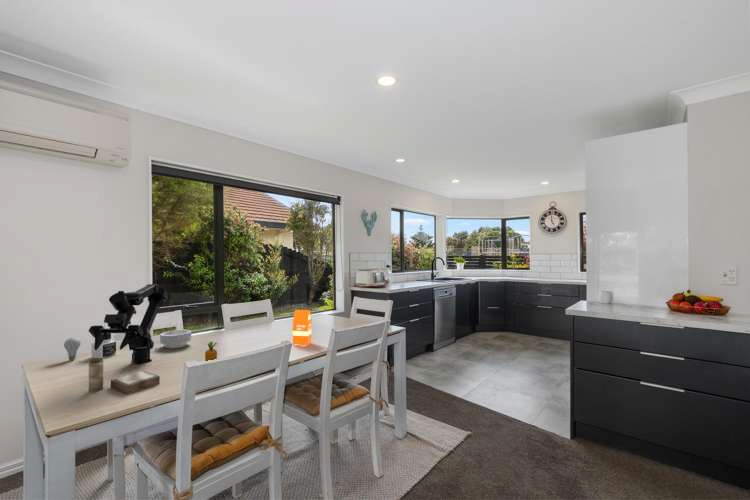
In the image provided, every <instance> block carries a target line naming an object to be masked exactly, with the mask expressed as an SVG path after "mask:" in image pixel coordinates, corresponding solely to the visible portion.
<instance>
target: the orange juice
mask: <svg viewBox="0 0 750 500" xmlns="http://www.w3.org/2000/svg"><path fill="white" fill-rule="evenodd" d="M310 342H311V343H312V316H311V311H310V310H309V309H308V310H307V309H294V315H293V319H292V346H293V345H294V344H300V345H308V344H309V343H310Z"/></svg>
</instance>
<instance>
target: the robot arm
mask: <svg viewBox="0 0 750 500" xmlns="http://www.w3.org/2000/svg"><path fill="white" fill-rule="evenodd" d="M145 298H147V302H148V303H149V304H148V306H147V309H146V311H145V313H144V315H143V317H142V320H141V322H140V324H131V323H132V322H131V319H132V318H133V316H134V315H136V314H137V310H136V308H135V306H140V305H141V304H143V303H144V302H145V300H144V299H145ZM168 298H169V293H168V291H167V290H166V289H164V288H163V287H160V286H159V284H157V283H149V284H146V285H145V286H144V287H143V286H142V288H140V289H137V290H136V291H130V292H125V291H124V290H118V291H117V292H115V293H114V294H112V295H110V296H109V299H108V301H109V303H110V305H111V306H112V307H113V309H114V310H115V311H117V313H115V314H112V313H111V314H105V316H104V320H103V323H104V324H107V327H109V328H106V327H105V328H104V326H103V325H102V324H101V325H99V324H98V325H91V326H90V327H89V328H88V333H90V335H91V336H92V337H93V338H94V343H95V347H94V349H95V350H97V349H98V348H99V346H100V345H101V343H102V342H103V340H104V339H105V338H104V337H105V336H106V333H112V334H125V335H124V336H123V339H122V341H121V342H120V345H119V350H123V349H124V348H125V347H127V345H128V349H129V351H132V352H131V361H130V363H132V364H135V365H141V364H145V363H148V362H151V361H153V359H151V350H152V349H154V345H155V342H154V340H153V339H152V334H151V329H152V327H153V324H154V321H155V320H156V317H157V314H158V312H159V309H160V308H161V307H162V306H163V305H164V304H165V303H166V302H167V300H168Z"/></svg>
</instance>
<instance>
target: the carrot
mask: <svg viewBox="0 0 750 500" xmlns="http://www.w3.org/2000/svg"><path fill="white" fill-rule="evenodd" d="M217 344H218V342H213V341H209V342H208V343H207V346H208V349H207V350H205V352H204V361H208V360H214V359H217V360H218V350H217V349H214V347H215V346H216V345H217Z"/></svg>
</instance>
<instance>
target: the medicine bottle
mask: <svg viewBox="0 0 750 500" xmlns="http://www.w3.org/2000/svg"><path fill="white" fill-rule="evenodd" d="M112 335H113V333H106V336H105V337H104V338H105V339H104V340H103V342H102V343H101V345H100V346H99V348H98V349H97V350H95V349H94V347H95V342H92V343H91V350H90V351H91V359H99V358H101V359H103V360H104V359H106V358H110V357H112V356H116V355H117V341H116V340H112Z"/></svg>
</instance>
